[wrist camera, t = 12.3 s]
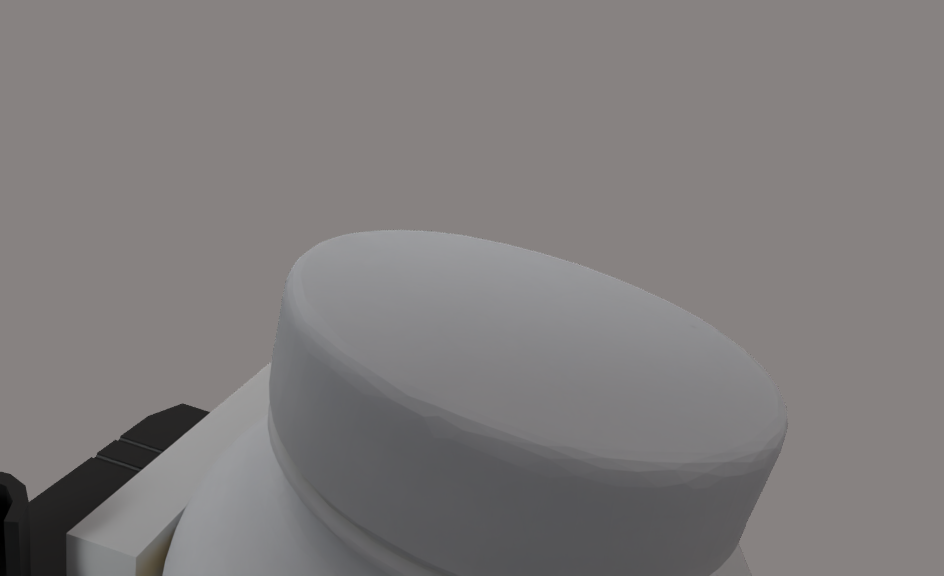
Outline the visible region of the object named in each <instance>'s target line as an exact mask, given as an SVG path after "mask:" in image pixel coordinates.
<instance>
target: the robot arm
mask: <svg viewBox="0 0 944 576" xmlns="http://www.w3.org/2000/svg"><path fill="white" fill-rule="evenodd" d="M271 364H272V361H271V362H270V363H269V364H268V365H267V366H265V367H264V368H263V369H262V370H261V371H259V372H258V373H257V374H256V375H255V376H254V377H252V378H251V379H250V380H249V381H247V382H246V383H245V384H244V385H243V386H242V387H240V388H239V389H238V390H237V391H236V392H234V393H233V394H232V395H231V396H230V397H228V398H227V399H226V400H225V401H224V402H222V403H221V404H220V405H219V406H218V407H216V408H215V409H214V410H213V411H212V412H208V411H204V410H201V409H198V408H195V407H192V406H189V405H186V404H180V405H178V406H174V407H172V408H169V409H166V410H164V411H161V412H159V413H155V414H153V415H150V416H148V417H146V418H145V419H144V420H142V421H141V422H140V423H138V424H137V425H135V426H134V427H133V428H131V429H130V430H129V431H127V432H126V433H124V434H123V435H121V437H120V439H119V440H118V441H117V440H115V441H113V442H112V443H110V444H109V445H108V446H106V447H105V448H103V449H102V450H101V451H99V452H98V453H97V455H96V457H95V458H92V457H91V458H90V459H88V460H87V461H86V462H84V463H83V464H81V465H80V466H78V467H77V468H76V469H74V470H73V471H72V472H70V473H69V474H68V475H66V476H65V477H64V478H62V479H60V480H59V481H58V482H56V483H55V484H54V485H52V486H51V487H49V488H48V489H47V490H45V491H44V492H43V493H41V494H40V495H38V496H37V497H36V498H34V499H33V500H31V501H30V502H28V497H27V492H26V487H25V485H24V484H22V483H21V482H20V481H19V480H17V479H16V478H15V477H13V476H12V475H11V474H8V473H4V472H0V576H163V570H164V565H165V561H166V557H167V554H168V551H169V548H170V545H171V542H172V538H173V536H174V533H175V530H176V528H177V525H178V523H179V521H180V519H181V517H182V515H183V513H184V510H185V508H186V506H187V504H188V502H189V500H190V498H191V497H192V495H193V494H194V492H195V490H196V489H197V487H198V485H199V484H200V482H201V481H202V479H203V477H204V476H205V474H206V473H207V471H208V470H209V469H210V468H211V466H212V465H213V464H214V463H215V462H216V460H217V459H218V458H219V457H220V455H221V454H222V453H223V452H224V451H225V450H226V449H227V448H228V447H229V446H230V445H231V444H232V443H233V442H234V441H235V440H236V439H237V438H238V437H239V436H240V435H241V434H242V433H244V432H245V431H246V430H247V429H248V428H250V427H251V426H252V425H253V424H255V423H256V422H257V421H259V420H260V419H261V418H263V417H264V416H265V415H267V414H268V408H269V403H270V400H269V380H270V372H271ZM715 573H716V576H752V575H751V573H750V570H749V568H748V565H747V563H746V560H745V558H744V556H743V553H742V551H741V548H740V546H739V544H738V545H737V547H736V549H735V550H734V552H733V553H732V554H731V556H730V557H729V558H728V559H727V560H726V561H725V562H724V564H723V565H722V566H721V567H720V568H719V569H718V570H716V571H715Z"/></svg>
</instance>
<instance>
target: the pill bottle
mask: <svg viewBox="0 0 944 576" xmlns="http://www.w3.org/2000/svg"><path fill="white" fill-rule="evenodd" d="M269 400H270V403H269V408H268V414H267V415H265V416H264V417H263V418H261V419H260V420H259V421H257V422H256V423H255V424H253V425H252V426H251V427H250V428H248V429H247V430H246V431H245V432H244V433H242V434H241V435H240V436H239V437H238V438H237V439H236V440H235V441H234V442H233V443H232V444H231V445H230V446H229V447H228V448H227V449H226V450H225V451H224V452H223V453H222V454H221V455H220V457H219V458H218V459H217V460H216V462H215V463H214V464H213V465H212V466H211V468H210V469H209V470H208V471H207V473H206V474H205V476H204V477H203V479H202V481H201V482H200V484H199V485H198V487H197V489H196V490H195V492H194V494H193V495H192V497H191V498H190V500H189V502H188V504H187V506H186V508H185V510H184V513H183V515H182V517H181V519H180V521H179V523H178V525H177V528H176V530H175V533H174V536H173V538H172V542H171V545H170V548H169V551H168V554H167V557H166V561H165V565H164V570H163V576H716V573H715V571H716V570H718V569H719V568H720V567H721V566H722V565H723V564H724V562H725V561H726V560H727V559H728V558H729V557H730V556H731V554H732V553H733V552H734V550H735V549H736V547H737V545H738V543H739V540H740V538H741V536H742V533H743V531H744V528H745V526H746V523H747V521H748V518H749V517H750V515H751V512H752V510H753V508H754V506H755V504H756V502H757V500H758V498H759V496H760V494H761V492H762V490H763V488H764V486H765V483H766V481H767V479H768V477H769V475H770V473H771V470H772V468H773V466H774V464H775V462H776V460H777V458H778V455H779V453H780V451H781V448H782V445H783V442H784V438H785V435H786V432H787V427H788V423H787V409H786V405H785V403H784V401H783V398H782V396H781V393H780V390H779V388H778V386H777V385H776V383H775V382H774V381H773V379H772V378H771V377H770V375H769V374H768V372H767V371H766V370H765V369H764V368H763V367H762V366H761V365H760V364H759V363H758V362H757V361H756V360H755V359H754V358H753V357H752V356H751V355H750V354H749V353H747V352H746V351H745V350H744V349H743V348H742V347H741V346H739V345H738V344H737V343H735V342H734V341H733V340H731V339H730V338H729V337H727V336H726V335H725V334H723V333H722V332H720V331H719V330H717V329H716V328H714V327H713V326H712V325H710V324H708V323H707V322H705V321H704V320H702V319H700V318H699V317H697V316H695V315H693V314H692V313H690V312H688V311H686V310H684V309H682V308H681V307H679V306H677V305H675V304H673V303H671V302H669V301H667V300H665V299H663V298H660V297H658V296H656V295H654V294H651V293H649V292H647V291H645V290H643V289H641V288H639V287H636V286H634V285H631V284H629V283H626V282H624V281H622V280H619V279H617V278H614V277H612V276H609V275H606V274H604V273H601V272H598V271H595V270H593V269H590V268H587V267H585V266H582V265H580V264H576V263H573V262H570V261H567V260H563V259H560V258H556V257H554V256H550V255H547V254H543V253H540V252H536V251H532V250H528V249H524V248H521V247H516V246H513V245H508V244H504V243H499V242H494V241H489V240H485V239H479V238H475V237H470V236H465V235H458V234H450V233H442V232H432V231H415V230H413V231H412V230H378V231H368V232H358V233H351V234H346V235H342V236H338V237H334V238H331V239H329V240H326V241H323V242H321V243H319V244H317V245H316V246H314V247H313V248H311V249H310V250H309V251H307V252H306V253H305V254H303V255H302V256H301V257H300V258H299V259H298V260H297V261H296V263H295V264H294V266H293V267H292V269H291V271H290V273H289V275H288V278H287V280H286V282H285V288H284V293H283V298H282V305H281V311H280V317H279V323H278V329H277V334H276V339H275V344H274V349H273V356H272V364H271V372H270V380H269Z"/></svg>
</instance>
